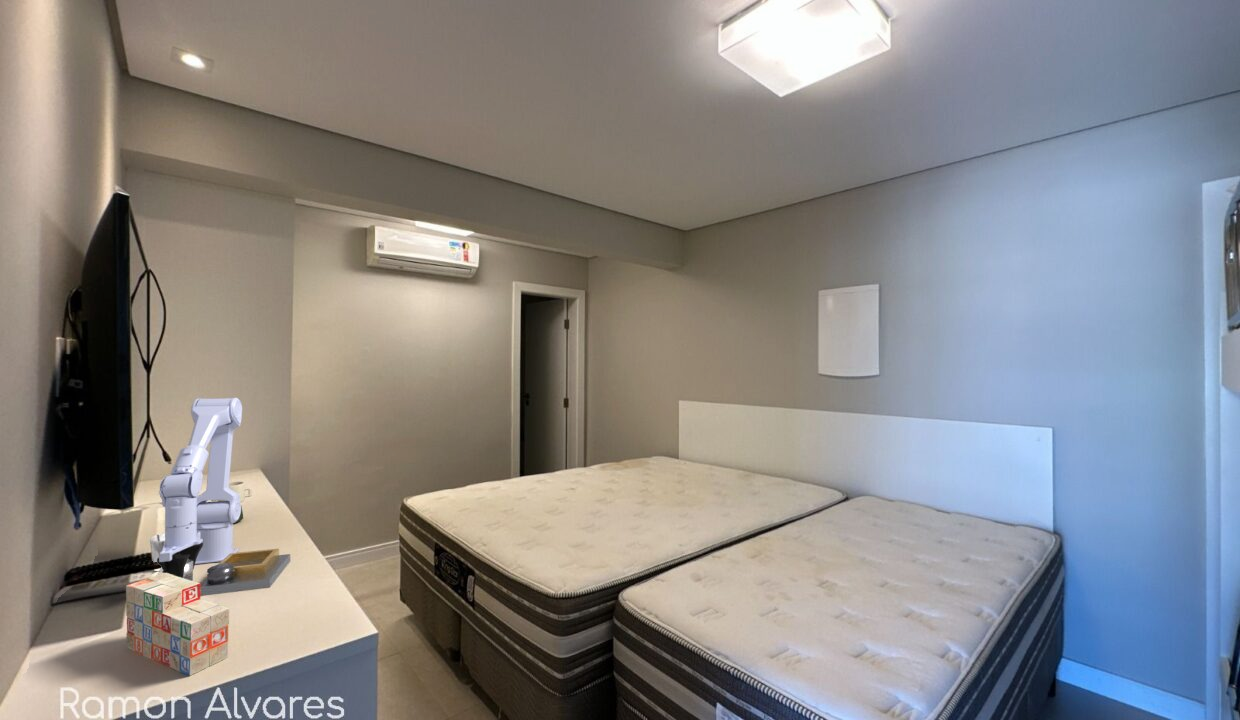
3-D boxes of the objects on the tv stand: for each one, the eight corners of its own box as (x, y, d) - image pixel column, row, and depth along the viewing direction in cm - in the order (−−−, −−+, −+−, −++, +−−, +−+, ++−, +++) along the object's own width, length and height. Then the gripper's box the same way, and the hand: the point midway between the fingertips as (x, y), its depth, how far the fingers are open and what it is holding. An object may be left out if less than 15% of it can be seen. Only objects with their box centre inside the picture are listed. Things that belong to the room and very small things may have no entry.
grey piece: (199, 595, 115) (199, 574, 115) (228, 568, 130) (228, 549, 130) (270, 587, 120) (270, 566, 120) (290, 561, 135) (290, 543, 135)
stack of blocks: (229, 657, 92) (229, 591, 92) (189, 677, 86) (189, 607, 86) (165, 631, 100) (166, 571, 100) (125, 648, 95) (125, 584, 95)
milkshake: (145, 575, 125) (145, 536, 125) (153, 567, 130) (153, 529, 130) (169, 572, 128) (169, 533, 127) (176, 564, 132) (176, 527, 132)
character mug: (252, 516, 171) (252, 479, 171) (251, 522, 166) (251, 483, 166) (211, 522, 165) (211, 483, 165) (209, 528, 159) (209, 488, 159)
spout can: (164, 593, 116) (164, 563, 116) (174, 585, 120) (174, 556, 120) (187, 590, 117) (187, 561, 117) (196, 582, 122) (196, 554, 122)
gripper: (186, 531, 113) (186, 591, 113) (214, 513, 127) (214, 565, 127) (147, 535, 111) (147, 595, 111) (181, 515, 125) (180, 569, 125)
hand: (180, 580), depth 119 cm, fingers closed on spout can, 4 cm apart
